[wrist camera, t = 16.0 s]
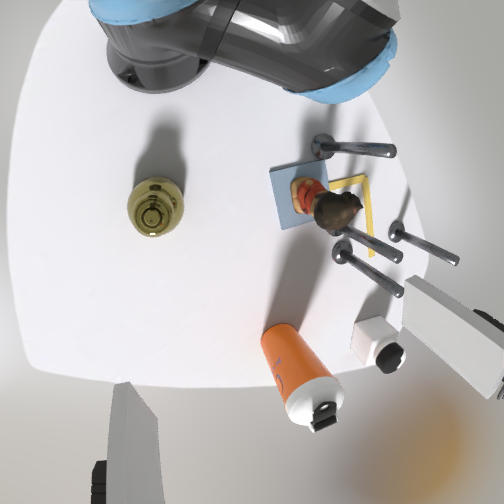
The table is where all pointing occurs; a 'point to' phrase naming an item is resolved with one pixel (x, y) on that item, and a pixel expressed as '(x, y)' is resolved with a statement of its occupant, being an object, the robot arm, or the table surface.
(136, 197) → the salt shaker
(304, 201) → the figurine
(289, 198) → the pad
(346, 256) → the gate
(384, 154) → the gate
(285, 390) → the shaker bottle
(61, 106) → the table surface
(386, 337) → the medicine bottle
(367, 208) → the guide line
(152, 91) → the robot arm
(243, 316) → the table surface
